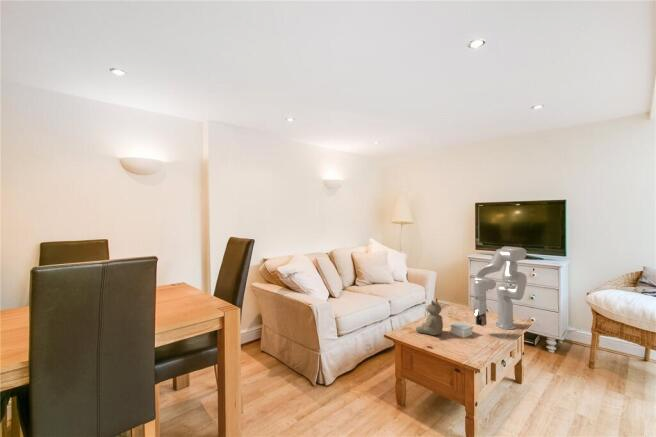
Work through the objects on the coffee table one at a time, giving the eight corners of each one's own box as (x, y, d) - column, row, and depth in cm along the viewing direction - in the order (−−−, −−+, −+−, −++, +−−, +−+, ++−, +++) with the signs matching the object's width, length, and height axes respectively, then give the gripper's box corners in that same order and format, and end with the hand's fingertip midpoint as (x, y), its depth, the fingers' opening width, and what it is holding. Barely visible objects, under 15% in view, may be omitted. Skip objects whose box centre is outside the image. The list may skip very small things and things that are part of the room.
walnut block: (479, 322, 213) (479, 312, 212) (486, 324, 209) (486, 314, 208) (475, 324, 210) (475, 314, 209) (483, 326, 206) (482, 316, 205)
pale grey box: (459, 330, 218) (459, 321, 218) (473, 335, 209) (473, 326, 209) (450, 333, 213) (450, 324, 213) (463, 338, 204) (463, 329, 204)
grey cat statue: (425, 325, 227) (425, 293, 226) (446, 331, 216) (446, 297, 215) (412, 334, 212) (412, 299, 211) (434, 340, 201) (434, 304, 200)
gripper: (480, 293, 216) (481, 318, 217) (468, 299, 206) (469, 325, 207) (491, 295, 210) (492, 321, 211) (479, 301, 200) (480, 328, 201)
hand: (481, 322), depth 209 cm, fingers closed on walnut block, 5 cm apart
